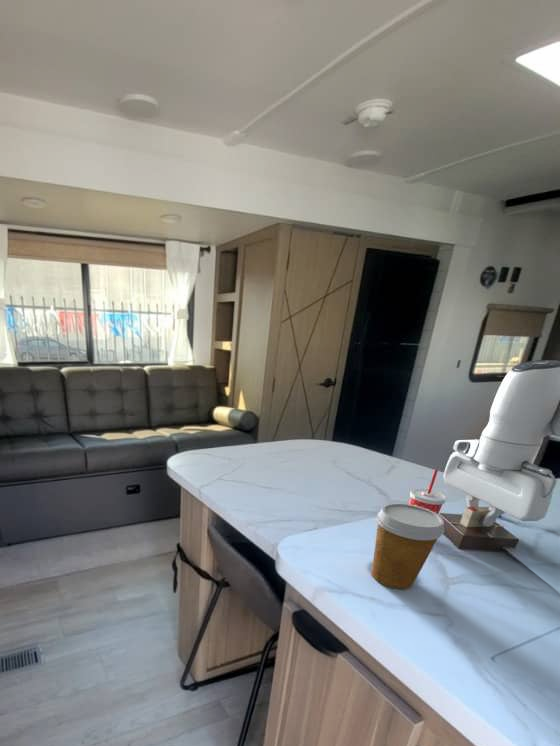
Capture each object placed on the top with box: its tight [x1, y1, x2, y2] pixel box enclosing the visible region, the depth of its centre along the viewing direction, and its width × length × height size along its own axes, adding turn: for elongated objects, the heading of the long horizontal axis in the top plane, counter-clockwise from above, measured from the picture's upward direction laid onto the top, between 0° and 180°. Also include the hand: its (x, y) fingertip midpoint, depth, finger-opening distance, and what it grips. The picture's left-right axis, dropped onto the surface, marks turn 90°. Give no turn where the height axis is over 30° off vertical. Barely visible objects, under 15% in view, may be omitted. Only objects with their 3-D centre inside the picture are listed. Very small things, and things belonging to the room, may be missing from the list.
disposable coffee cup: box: [371, 502, 445, 590], centre depth 65 cm, size 10×10×12 cm
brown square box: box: [438, 512, 520, 553], centre depth 81 cm, size 10×10×3 cm
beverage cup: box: [408, 469, 448, 514], centre depth 80 cm, size 6×6×14 cm
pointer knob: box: [460, 506, 498, 527], centre depth 80 cm, size 6×2×4 cm, turn 98°
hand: (478, 521), depth 80 cm, fingers closed on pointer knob, 2 cm apart
